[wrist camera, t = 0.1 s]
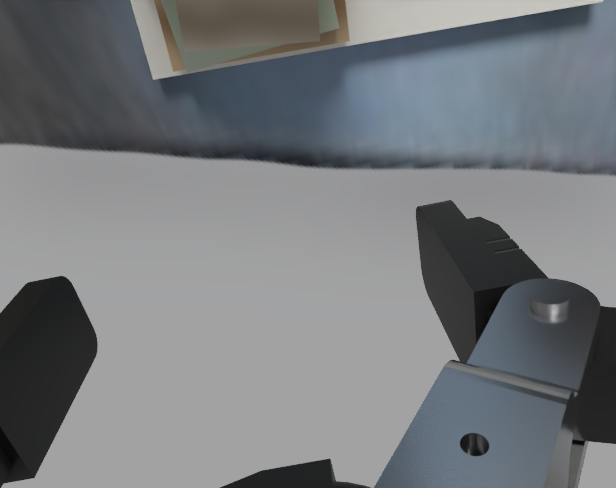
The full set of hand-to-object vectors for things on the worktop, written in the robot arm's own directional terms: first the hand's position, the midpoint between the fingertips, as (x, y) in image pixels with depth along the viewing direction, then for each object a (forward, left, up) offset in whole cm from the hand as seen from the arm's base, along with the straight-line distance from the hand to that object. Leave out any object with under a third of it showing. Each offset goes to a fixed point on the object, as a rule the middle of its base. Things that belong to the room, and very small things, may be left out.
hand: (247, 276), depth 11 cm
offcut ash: (-5, 0, -24) cm, 24 cm away
